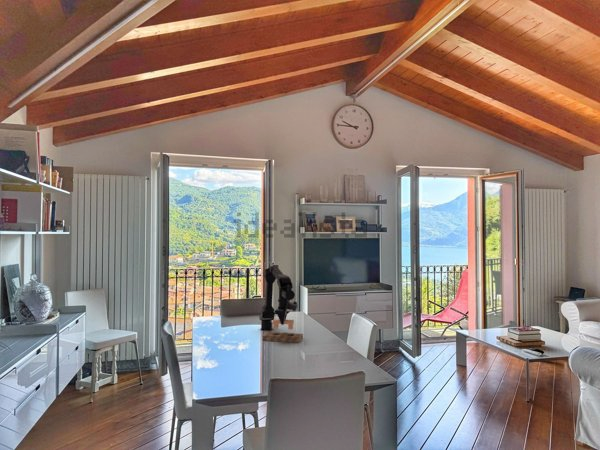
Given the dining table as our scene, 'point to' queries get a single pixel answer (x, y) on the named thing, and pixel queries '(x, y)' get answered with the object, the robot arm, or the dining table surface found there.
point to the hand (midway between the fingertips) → (283, 324)
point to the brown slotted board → (283, 337)
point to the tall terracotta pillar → (289, 322)
